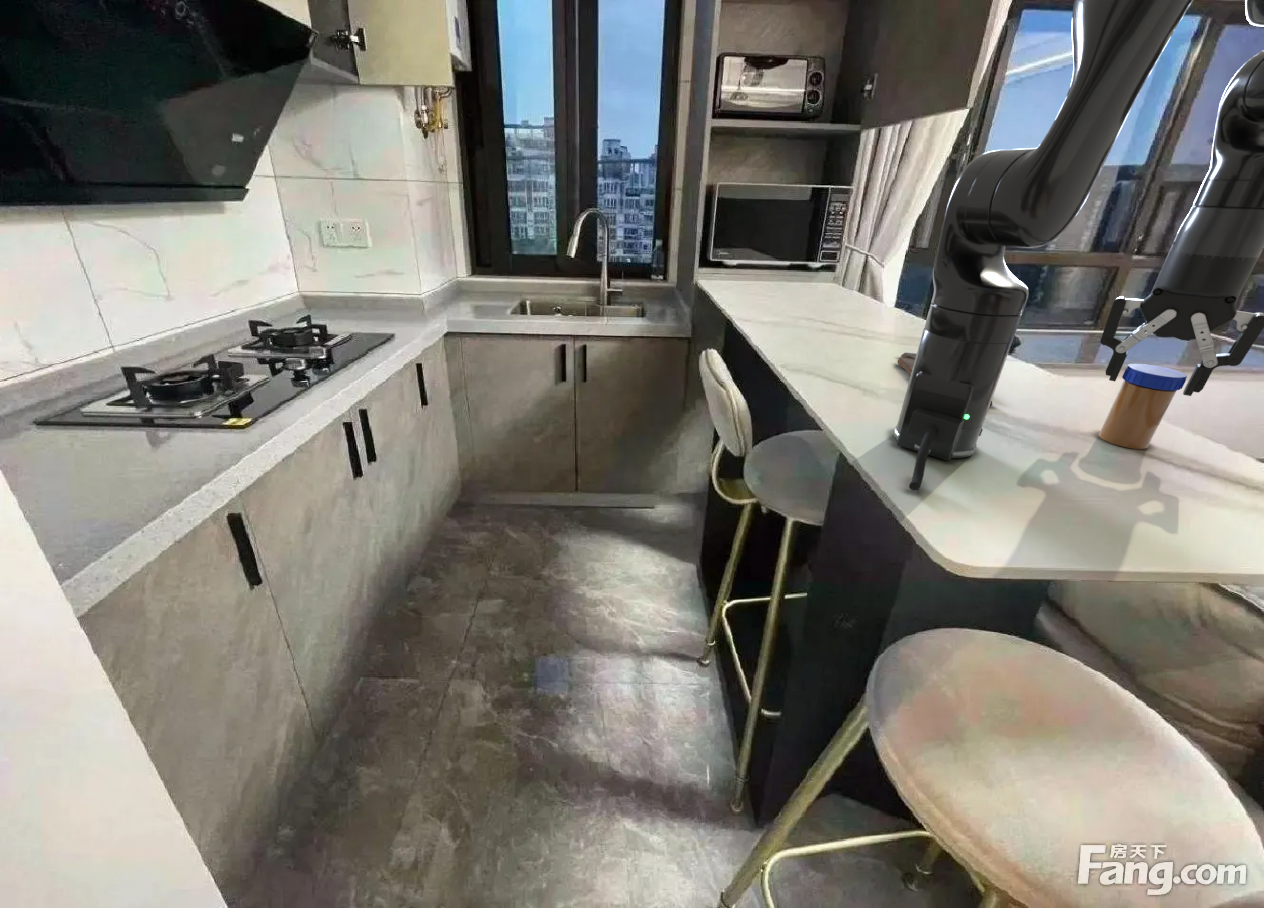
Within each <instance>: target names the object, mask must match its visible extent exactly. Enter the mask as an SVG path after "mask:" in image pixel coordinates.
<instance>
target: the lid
mask: <svg viewBox="0 0 1264 908" xmlns="http://www.w3.org/2000/svg"><path fill="white" fill-rule="evenodd" d="M1187 377H1188V374H1186V373H1185V372H1182V371H1180V370H1177V369H1173V368H1169V367H1164V366H1160V365H1154V364H1146V363H1129V364H1128V365H1127V367H1126V368H1125V370H1124V372H1123V374H1122V375H1121V378H1122V379H1123V381H1124V380H1125V381H1127V382H1130V383H1133V384H1136V385H1139V386H1143V387H1148V388H1153V389H1160V390H1171V391H1174V390H1177V391H1180V390H1182V389H1183V388H1184V386H1185V384H1186V381H1187Z"/></svg>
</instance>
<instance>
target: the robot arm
mask: <svg viewBox="0 0 1264 908" xmlns="http://www.w3.org/2000/svg"><path fill="white" fill-rule="evenodd" d="M1193 2H1194V0H1074V3H1073V8H1072V16H1071V42H1072V44H1071V45H1072V58H1073V59H1072V60H1073V65H1072V66H1073V67H1072V68H1073V70H1072V78H1071V82H1070V85H1069V89H1068V91H1067V94H1066V97H1065V99H1064V101H1063V103H1062V105H1061V107H1060V109H1059V111H1058V113H1057V115H1056V117H1055V119H1054V121H1053V123H1052V124H1051V126H1050V127H1049V130H1048V132H1047V133H1046V135H1045V136H1044V137H1043V140H1042V141H1041V143H1039V145H1038V146H1037V147H1034V148H1033V147H1031V148H1011V149H1010V148H1009V149H998V150H997V149H996V150H991V151H987V152H984V153H982V154H980V155H978V156H976V157H975V158H974V159H972V160H971V161H970V162H969V163H968V164H967V165H966V166H965V167H964V168H963V169H962V171H961V173H960V174H959V176H958V178H957V179H956V182H955V183H954V186H953V188H952V190H951V193H950V195H949V198H948V201H947V205H946V208H945V212H944V215H943V216H944V217H943V220H942V225H941V230H940V235H939V240H938V245H937V249H936V253H935V257H934V262H933V267H932V268H933V269H932V283H933V293H932V298H931V302H930V306H929V309H928V312H927V317H926V319H925V323H924V327H923V330H922V334H921V337H920V341H919V344H918V348H917V352H916V354H917V355H916V359H915V362H914V366H913V369H912V373H911V376H910V375H909V376H910V377H909V380H908V384H907V388H906V391H905V394H904V397H903V398H904V399H903V402H902V405H901V409H900V413H899V416H898V420H897V424H896V426H895V428H894V432H893V437H894V439H895V440H896V445H897V446H898V447H902V448H906V449H909V450H912V451H915V452H917V455H916V458H915V463H914V469H913V473H912V478H911V481H910V482H909V485H908V486H909V487H908V488H909V489H910V490H911V491H914V492H915V491H918V490H919V489H920V488H921V485H922V483H923V480H924V475H925V469H926V464H927V459H928V456H931V457H935V458H938V459H941V460H944V461H950V460H951V459H961V458H962V459H963V458H967V457H971V456H972V455H974V453H975V451H976V448H977V443H978V441H979V438H980V437H981V435H982V433H983V430H984V429H983V426H984V423H985V420H986V417H987V414H988V412H989V409H990V407H989V406H990V403H991V400H992V401H993V397H994V394H995V392H996V388H997V386H998V383H999V380H1000V378H1001V374H1002V372H1003V369H1004V366H1005V363H1006V360H1007V357H1008V355H1009V352H1010V349H1011V347H1012V345H1013V342H1014V341H1013V340H1014V338H1015V335H1016V333H1017V331H1018V327H1019V325H1020V322H1021V319H1022V316H1023V313H1024V311H1025V308H1026V305H1027V302H1028V298H1029V294H1030V292H1029V288H1028V286H1027V285H1026V284H1025V283H1024V282H1023V281H1021V280H1019V279H1018V278H1017V277H1016V276H1015V275H1014V274H1013V273H1012V272H1011V271H1010V269H1009V268H1008V266H1007V265H1006V262H1005V252H1006V247H1009V248H1018V249H1038V248H1042V247H1044V246H1047V245H1049V244H1050V243H1052V242H1054V241H1055V240H1056V239H1058V238H1059V237H1060V236H1061V235H1062V234H1063V233H1064V232H1065V231H1066V230H1067V229H1068V228H1069V226H1070V225H1071V224H1072V223H1073V221H1074V220H1075V219H1076V217H1077V216H1078V214H1079V212H1080V211H1081V209H1082V208H1083V206H1084V204H1085V203H1086V201H1087V199H1088V197H1089V195H1090V194H1091V192H1092V190H1093V188H1094V185H1095V184H1096V181H1097V180H1098V177H1099V176H1100V173H1101V172H1102V170H1103V168H1104V166H1105V163H1106V161H1107V160H1108V158H1109V155H1110V153H1111V151H1112V149H1113V147H1114V144H1115V143H1116V141H1117V139H1118V137H1119V134H1120V132H1121V130H1122V128H1123V126H1124V124H1125V122H1126V120H1127V118H1128V116H1129V113H1130V112H1131V110H1132V107H1133V106H1134V104H1135V103H1136V100H1137V99H1138V96H1139V95H1140V93H1141V91H1142V89H1143V87H1144V86H1145V84H1146V83H1147V80H1148V78H1149V77H1150V75H1151V73H1152V71H1153V69H1154V68H1155V66H1156V64H1157V62H1158V60H1159V59H1160V57H1161V56H1162V54H1163V52H1164V50H1165V48H1166V47H1167V45H1168V43H1169V42H1170V39H1171V38H1172V36H1173V34H1174V32H1175V31H1176V29H1177V28H1178V26H1179V24H1180V22H1181V21H1182V19H1183V18H1184V16H1185V14H1186V13H1187V11H1188V10H1189V8H1190V7H1191V5H1192V3H1193ZM1244 2H1245V3H1244V4H1245V5H1244V6H1245V16H1246V20H1247V21H1248V22H1249V24H1250V25H1252V26H1256V27H1264V0H1245V1H1244ZM1263 250H1264V49H1263V50H1261V51H1260V52H1257V53H1255V55H1253V56H1252V57H1250V58H1249V59H1248V60H1247V61H1246V62H1244V63H1243V65H1241V67H1240V68H1239V69H1238V70H1237V71H1236V73H1235V74H1234V76H1233V77H1232V78H1231V79H1230V81H1229V83H1228V85H1227V86H1226V87H1225V90H1224V92H1223V94H1222V97H1221V100H1220V102H1219V105H1218V111H1217V117H1216V122H1215V129H1214V136H1213V142H1212V148H1211V159H1210V166H1209V170H1208V172H1207V173H1206V175H1205V178H1204V179H1203V181H1202V184H1201V185H1200V188H1199V190H1198V193H1197V195H1196V197H1195V199H1194V201H1193V204H1192V207H1191V208H1190V210H1189V212H1188V214H1187V215H1186V217H1185V218H1184V220H1183V222H1182V223H1181V225H1180V227H1179V229H1178V231H1177V233H1176V235H1175V236H1174V239H1173V240H1172V243H1171V247H1170V249H1169V251H1168V253H1167V256H1166V257H1165V260H1164V263H1163V265H1162V266H1161V269H1160V271H1159V273H1158V276H1157V278H1156V280H1155V283H1154V285H1153V287H1152V289H1151V291H1150V293H1149V294H1147V296H1145V297H1144V298H1143V299H1141V298H1127V297H1126V296H1124V295H1120V296H1118V297H1116V298H1115V299H1114V301H1113V302H1112V304H1111V308H1110V311H1109V314H1108V317H1107V320H1106V323H1105V325H1104V329H1103V332H1102V335H1101V338H1100V340H1099V342H1100V344H1101V345H1102V346H1106V347H1108V348H1110V349H1111V350H1112V355H1111V357H1110V360H1109V362H1108V365H1107V368H1106V369H1105V376H1108V377H1109V378H1108V381H1110V382H1116V381H1117V380H1118V379H1117V378H1118V376H1119V374H1120V372H1121V370H1122V367H1123V365H1124V363H1125V361H1126V358H1127V357H1128V354H1129V350H1130V349H1132V348H1133V347H1134V346H1136V345H1138V344H1139V343H1140V342H1142V341H1144V340H1145V339H1146V338H1148V337H1149V336H1150V335H1152V334H1153V335H1155V337H1159V338H1175V339H1177V340H1180V341H1186V342H1190V341H1195V340H1196V344H1197V347H1198V350H1199V353H1200V357H1201V360H1200V363H1197V364H1196V365H1195V368H1194V370H1193V372H1192V374H1191V375H1190V377H1189V379H1188V381H1187V384H1186V385H1185V387H1184V389H1183V391H1182V395H1183V396H1188V397H1192V396H1193V394H1194V393H1200V392H1202V390H1204V388H1205V386H1206V384H1207V382H1208V380H1209V379H1210V377H1211V374H1212V372H1213V371H1214V370H1215V369H1216V368H1218V367H1225V366H1226V367H1227V366H1230V367H1237V366H1239V365H1240V364H1241V363H1242V362H1243V361H1244V359H1245V357H1246V356H1247V354H1248V353H1249V351H1250V350H1251V348H1252V347H1253V345H1254V344H1255V342H1256V340H1257V339H1258V337H1259V336H1260V334H1261V333H1262V331H1263V329H1264V312H1261V311H1259V312H1258V311H1257V312H1249V311H1242V310H1237V301H1238V299H1239V296H1240V295H1241V294H1242V291H1243V289H1244V287H1245V285H1246V283H1247V281H1248V279H1249V277H1250V276H1251V274H1252V272H1253V269H1254V267H1255V266H1256V264H1257V262H1258V260H1259V258H1260V256H1261V254H1262V252H1263ZM1136 309H1139V310H1140V313H1141V315H1142V317H1143V318H1144V322H1143V323H1142V324H1141V325H1139V326H1138V327H1136V328H1135V329H1134V330H1133V331H1132V332H1131V333H1129V334H1128V335H1127V336H1125V337H1124V338H1120V337H1118V336H1116V334H1117V331H1118V328H1119V325H1120V323H1121V319H1122V317H1128V316H1129V315H1130V314H1132V312H1133V311H1134V310H1136ZM1233 320H1234V321H1235V322H1236V324H1235V329H1236V330H1237V331H1238V332H1240V333H1239V334H1238V336H1237V338H1236V339H1235V340H1234V342H1233V344H1232V345H1231V347H1230V349H1229V350H1228V352H1227V353H1226V352H1225V353H1217V352H1216V347H1215V345H1214V341H1213V337H1212V334H1211V332H1213V331H1215V330H1217V329H1219V328H1220V327H1222V326H1224V325H1225V324H1227V323H1229V322H1231V321H1233Z"/></svg>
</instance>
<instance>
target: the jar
mask: <svg viewBox="0 0 1264 908" xmlns="http://www.w3.org/2000/svg"><path fill="white" fill-rule="evenodd" d="M1177 391H1178V390H1174V391H1171V390H1160V389H1153V388H1148V387H1143V386H1139V385H1136V384H1133V383H1130V382H1127V381H1125V380H1124V379H1123V382H1122V384H1121V386H1120V388H1119V390H1118V392H1117V395H1116V397H1115V398H1114V401H1113V403H1112V406H1111V408H1110V410H1109V412H1108V413H1107V416H1106V418H1105V420H1104V423H1103V424H1102V427H1101V429H1100V431H1099V433H1098V437H1099V438H1100V439H1101V440H1103V441H1105V442H1107V443H1110V444H1112V445H1116V446H1119V447H1122V448H1127V449H1133V450H1134V449H1135V450H1144V449H1145V450H1146V449H1147V448H1148V447H1149V445H1150V444H1151V441H1152V439H1153V437H1154V436H1155V434H1156V431H1157V430H1158V428H1159V426H1160V424H1161V422H1162V420H1163V418H1164V416H1165V414H1166V413H1167V410H1168V409H1169V407H1170V405H1171V403H1172V400H1174V397H1175V395H1176V393H1177Z"/></svg>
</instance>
